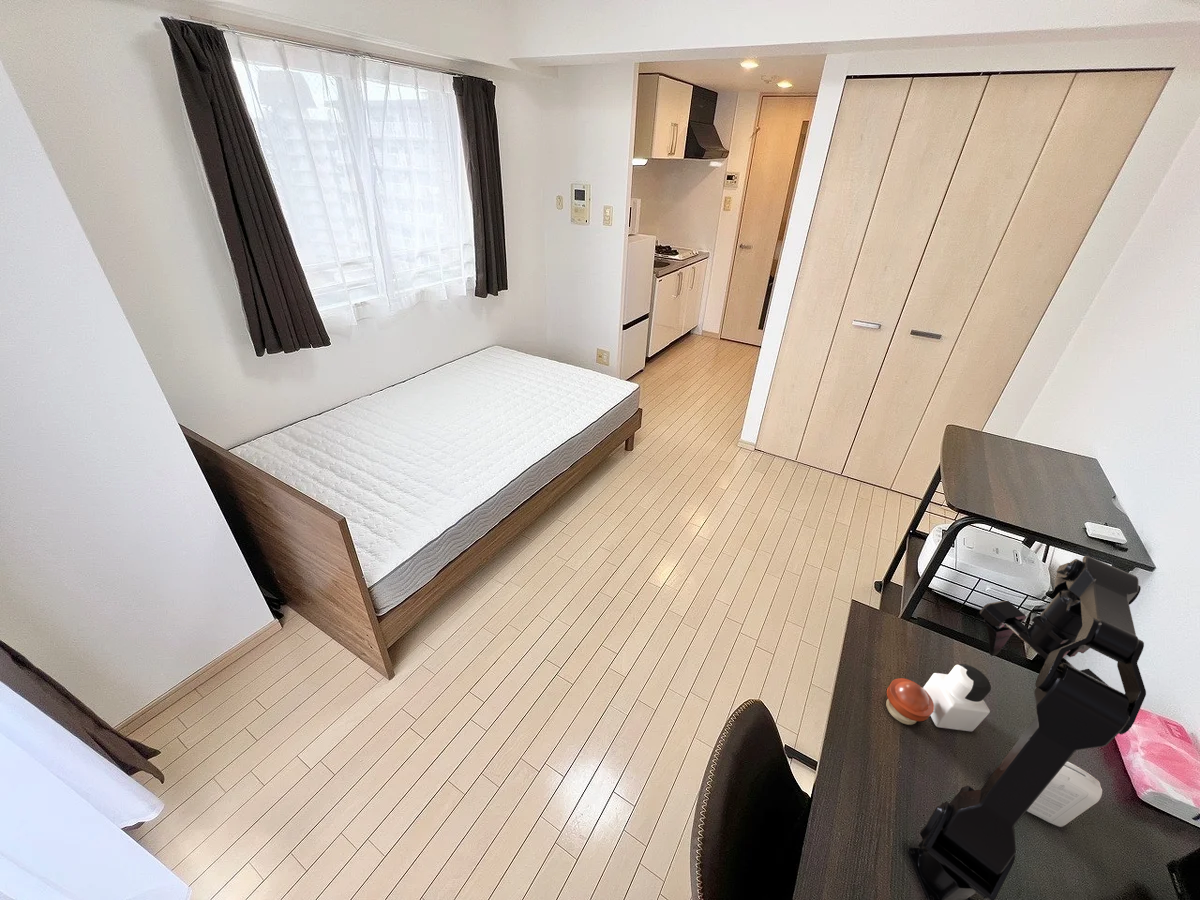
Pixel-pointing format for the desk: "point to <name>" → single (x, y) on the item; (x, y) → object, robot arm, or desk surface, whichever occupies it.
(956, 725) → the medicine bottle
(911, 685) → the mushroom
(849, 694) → the desk surface
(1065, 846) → the desk surface
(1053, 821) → the photo printer
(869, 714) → the desk surface
